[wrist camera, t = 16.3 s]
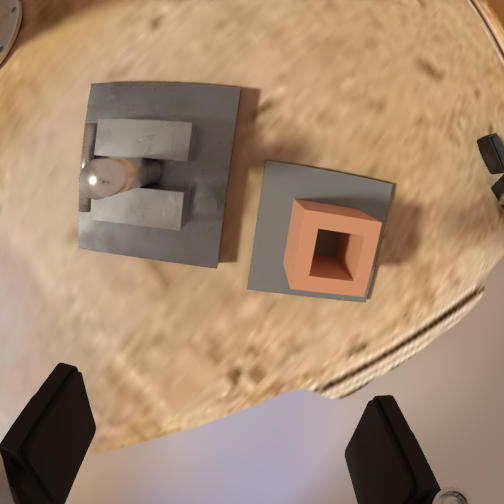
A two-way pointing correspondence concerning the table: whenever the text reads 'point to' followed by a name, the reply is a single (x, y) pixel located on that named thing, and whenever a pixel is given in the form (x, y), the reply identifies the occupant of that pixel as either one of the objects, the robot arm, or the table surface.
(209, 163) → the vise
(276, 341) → the table surface
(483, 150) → the lighter
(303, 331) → the table surface
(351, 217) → the collar
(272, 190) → the mat
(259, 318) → the table surface
